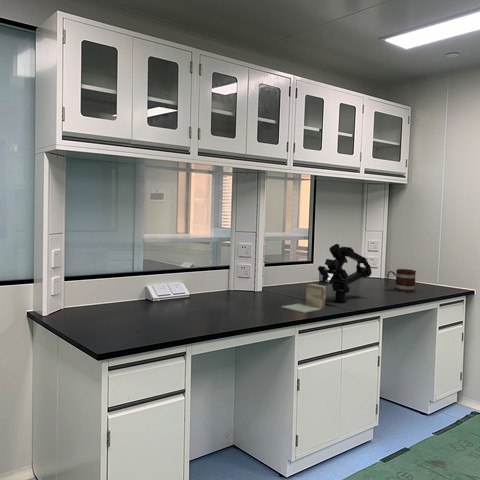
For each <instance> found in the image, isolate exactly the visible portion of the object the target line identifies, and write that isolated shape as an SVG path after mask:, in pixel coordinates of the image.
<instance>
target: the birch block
mask: <svg viewBox="0 0 480 480" xmlns="http://www.w3.org/2000/svg"><path fill="white" fill-rule="evenodd" d="M305 291H306V293H305V305H308V306H312V307H316V308H320V309H323V308H326V297H327V295H326V294H327V293H326V292H327V286H326V285H321V284H320V285H319V284H316V283H315V284H314V283H308V284H306V289H305Z"/></svg>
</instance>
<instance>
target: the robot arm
mask: <svg viewBox="0 0 480 480" xmlns="http://www.w3.org/2000/svg"><path fill="white" fill-rule="evenodd" d="M329 253H330V255H332V257H333V258H334V259H329V258H326V260H325V263H324V265H326V266H323V265H319V266H318V268H317V270H318V272H319V274H320V275H321V276H322V279H321V284H324V283H325V282H326V281H327V280H328V278H330V276H329V275H330V274H331V275H332V276H331V278H330V279H329V281H328V284H329V285H332V291H333V292H335V298H334V299H333V300H332V301H333V302H336V303H343V304H344V303H348V302H349V301H348V300H347V293H350V289H351V288H350V287H349V285H351V284H353V283H354V282H355V281H357V280H360V279H363V278H364V279H365V278H369V277H370V276H371V275H372V268H371V267H372V266H371V265H370V263H369V262H368V259H367V258H366V256H365V257H364V256H362V255H360V254H358V253H357V252H355V250H354V249H353V248H352V247H349V246H341V247H340V244H339V243H335V244H334V245H332V246H330V247H329ZM348 258H349V259H351V260H353V261H354V262H357V264H356V266H355V268H356V271H355V272H353V273H351V274H348V273H347V271H346V269H343V266H344V264H345V263H346V264H348ZM361 264H362V265H363V266H361Z"/></svg>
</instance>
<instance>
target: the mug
mask: <svg viewBox="0 0 480 480" xmlns="http://www.w3.org/2000/svg"><path fill="white" fill-rule="evenodd" d="M395 272H396V273H395ZM395 272H394V271H393V270H389V271H388V272H387V274H386V277H387V279H386V282H387V284H386V285H387V287H388V288H390V289H391V288H395V289H394V291H395V292H397V291H398V293H402V292H406V293H405V294H413V293H412V292H414V291H415V288H416V274H417V270H414V269H406V268H405V269H404V268H397V269H396V271H395ZM390 274H393V275H394V276H396V277H395V285H390V276H389V275H390ZM415 292H416V291H415ZM415 292H414V293H415Z"/></svg>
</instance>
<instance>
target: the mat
mask: <svg viewBox="0 0 480 480" xmlns="http://www.w3.org/2000/svg"><path fill="white" fill-rule="evenodd" d="M281 308H282V309H287V310H291V311H295V312H297V313H298V312H299V313H303V314H306V313H311V312H315V311H321V310H322V308H316V307H312V306H308V305H306V304H303V303H295V304H287V305H282V306H281Z"/></svg>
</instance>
